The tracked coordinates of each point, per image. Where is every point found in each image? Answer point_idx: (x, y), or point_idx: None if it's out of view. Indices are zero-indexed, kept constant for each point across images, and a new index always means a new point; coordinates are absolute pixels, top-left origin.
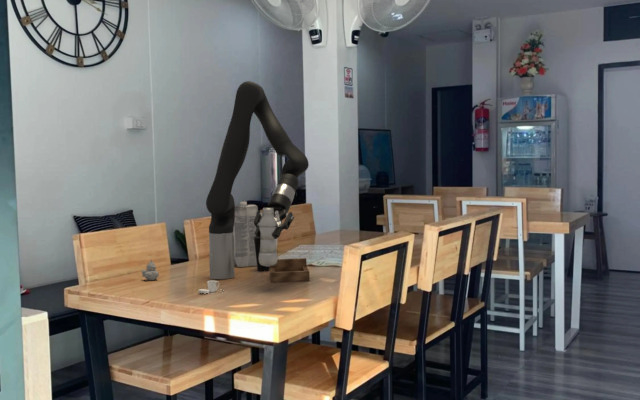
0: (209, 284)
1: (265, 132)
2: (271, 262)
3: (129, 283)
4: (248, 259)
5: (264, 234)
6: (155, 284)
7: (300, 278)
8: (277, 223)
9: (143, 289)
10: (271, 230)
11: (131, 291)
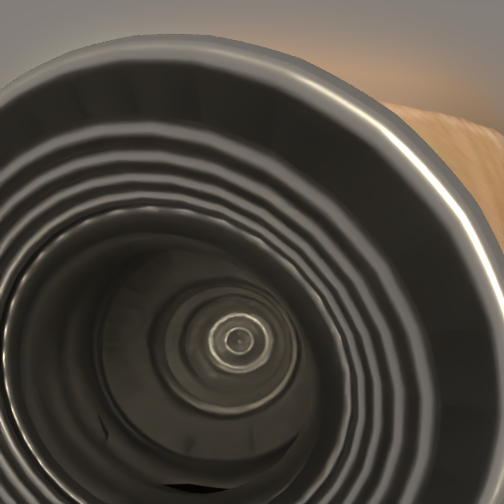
0: None
1: None
2: (195, 318)
3: None
4: None
5: (203, 270)
6: (494, 218)
7: None
8: (86, 406)
9: (469, 173)
10: (129, 300)
11: (464, 152)
